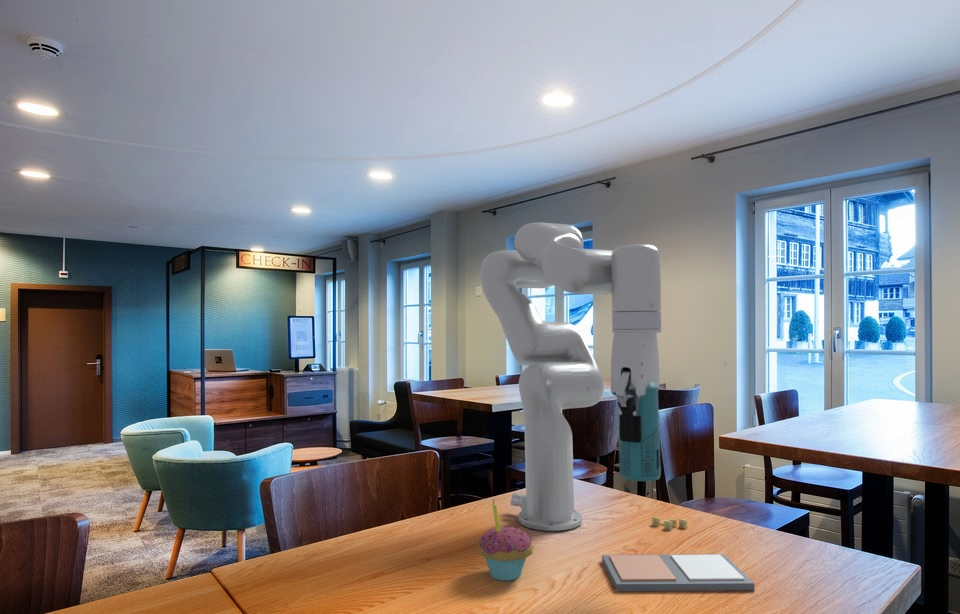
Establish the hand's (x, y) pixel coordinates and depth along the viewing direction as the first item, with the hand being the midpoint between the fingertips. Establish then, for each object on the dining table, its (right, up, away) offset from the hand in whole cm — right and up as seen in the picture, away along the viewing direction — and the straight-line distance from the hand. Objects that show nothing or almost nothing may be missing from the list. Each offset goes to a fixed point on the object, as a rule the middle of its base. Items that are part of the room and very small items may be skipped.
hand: (638, 436), depth 91 cm
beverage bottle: (0, -8, 0) cm, 8 cm away
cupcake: (-21, -22, 0) cm, 30 cm away
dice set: (+12, -23, +21) cm, 33 cm away
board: (+5, -21, -1) cm, 22 cm away
